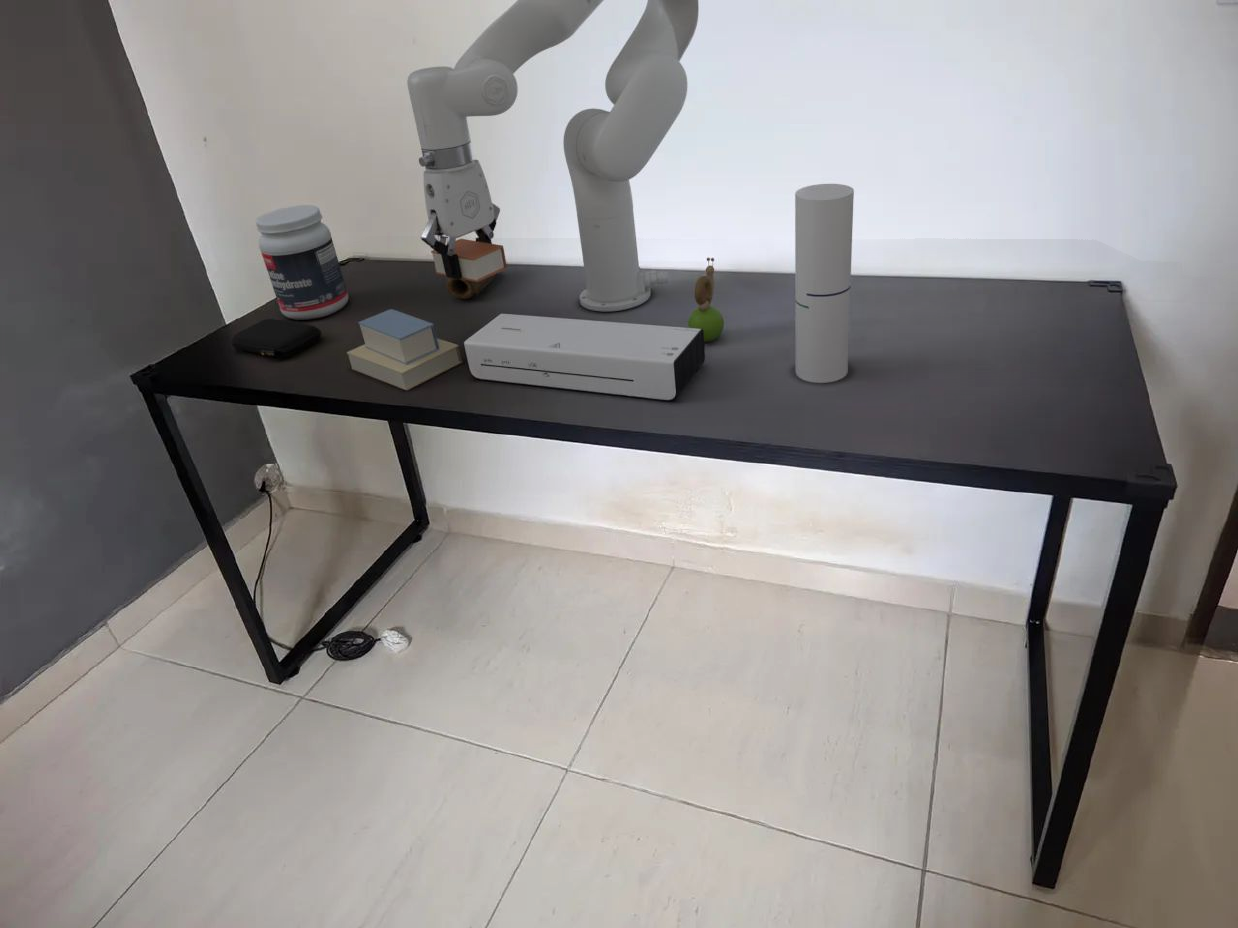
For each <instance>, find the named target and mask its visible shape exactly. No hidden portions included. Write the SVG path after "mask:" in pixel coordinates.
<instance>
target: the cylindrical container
mask: <svg viewBox="0 0 1238 928" xmlns="http://www.w3.org/2000/svg"><path fill="white" fill-rule="evenodd" d="M854 194H855V190H854V188H853V187H852V186H849V185H846V184H841V183H819V184H812V185H807V186H803V187H801V188H799V189H797V190H796V191H795V193H794V233H795V234H794V239H795V240H794V243H795V244H794V246H795V249H794V250H795V251H794V252H795V253H794V254H795V255H794V258H795V260H794V263H795V264H794V268H795V269H794V271H795V272H794V274H795V275H794V277H795V279H794V280H795V281H794V283H795V285H794V286H795V287H794V289H795V290H794V291H795V292H794V293H795V295H794V296H795V298H794V299H795V300H794V301H795V304H794V305H795V306H794V307H795V309H794V310H795V311H794V312H795V321H794V324H795V332H794V333H795V335H794V336H795V337H794V339H795V351H794V353H795V359H794V361H795V365H794V367H795V374H796V376H797V377H798V378H799V379H800V380H803V381H806V382H808V383H809V382H810V383H815V384H825V383H833V382H836V381H839V380H842V379H844V378H845V377H846V376H847V375H848V371H849V345H850V344H849V342H850V316H851V315H850V311H851V310H850V309H851V287H852V286H851V283H852V258H853V257H852V256H853V255H852V254H853V253H852V252H853V251H852V250H853V226H854V225H853V223H854V222H853V221H854V197H855V196H854Z"/></svg>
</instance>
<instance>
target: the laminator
mask: <svg viewBox="0 0 1238 928" xmlns="http://www.w3.org/2000/svg"><path fill="white" fill-rule="evenodd" d="M462 346H463V351H464V356H465V359H466V360H465V361H466V365H467V369H468V371H469V374H470V375H471V376H472V377H473V378H474V379H476V380H478V381H485V382H494V383H502V384H509V385H510V384H511V385H518V386H519V385H520V386H529V387H537V388H546V389H553V390H564V391H572V392H582V393H590V394H597V395H605V396H614V397H615V396H616V397H625V398H631V399H632V398H633V399H641V400H642V399H643V400H651V401H661V402H673V401H675V400H676V399H677V397H678V395H679V394H680V392H681V391H682V390H683V389H684V387H685V386H686V385H687V384H688V382H689V381H690V379H691V378H692V377H693V376H694V374H695V373H696V372H697V370H698V369H699V368H700V367H701V366H702V365H704V363H705V360H706V349H705V342H704V333H703V329H696V328H689V327H683V326H682V327H680V326H670V325H669V326H667V325H655V324H642V323H628V322H618V321H617V322H616V321H615V322H614V321H603V320H589V319H577V318H563V317H550V316H540V315H539V316H538V315H525V314H512V313H498V314H497V315H496V316H495V317H493V318H492V319H491V320H489V321H488V322H487V323H486V324H484V325H483V326H482V327H480V328H479V329H477V330H476V331H475V332H474V333H472V334H471V335H470V336H469V337H467V338H466V339H464V340H463V341H462Z"/></svg>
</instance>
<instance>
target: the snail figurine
mask: <svg viewBox="0 0 1238 928" xmlns="http://www.w3.org/2000/svg"><path fill="white" fill-rule="evenodd" d="M710 261H711V262H712V263H714V261H715V258H714V257H707V258H706V262H708V265H707V266H706V268H705V273H706V275H701V276H700V277H698V279H697V281H696V283H695V286H694V299H695V303H697V304H698V306H697V308H696V309H694V310H693V311H692V313H691V314H690V315H689V318H688V323H687V325H688V328H696V329H703V333H704V343H706V342H707V343H708V342H712V341H714V340H716V339H717V338H718V337H719V336H721V334H722V332H723V331H724V326H725V320H724V317H723V314H722V313H721V312H720V311H719V310H718V309H717V308H716V307H714V306H711V303H712V300H713V297H714V288H715V276H714V275H715V267H714V264H712V265H710Z"/></svg>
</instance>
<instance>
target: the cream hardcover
mask: <svg viewBox="0 0 1238 928" xmlns="http://www.w3.org/2000/svg"><path fill="white" fill-rule="evenodd" d="M437 341H438V345H439V349H440V350H438V351H436V352H434V353H432V354H430V355H427V356H425V357H423V358H421V359H419V360H416V361H414V362H412V363H410V364H408V365H406V364H403V363H401V362H399V361H396V360H394V359H392V358H389V357H387V356H384V355H382V354H380V353H377V352H375V351H373V350H370V349H368V348H366V347H365V346H366V345H365V343H364V344H362V345H360V346H357V347H356V348H352V349H351V350H348V351H347V352H346V355H347V356H348V359H349V362H350V365H351V370H353V371H355V372H358V373H361V374H363V375H366V376H369V377H371V378H373V379H376V380H379V381H381V382H384V383H387V384H388V385H391V386H393V387H397V388H399V389H402V390H405V391H409V390H411V389H413V388H415V387H417V386H419V385H421V384H423V383H425V382H427V381H428V380H431V379H432V378H435V377H437V376H438V375H440V374H443V373H445V372H446V371H448V370H450V369H452V368H454V367H457V366H458V365H460V364H462V363H463V358H462V355H461V350H460V345H459V344H456V343H453V342H449V341H447V340H444V339H441V338H437Z"/></svg>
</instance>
